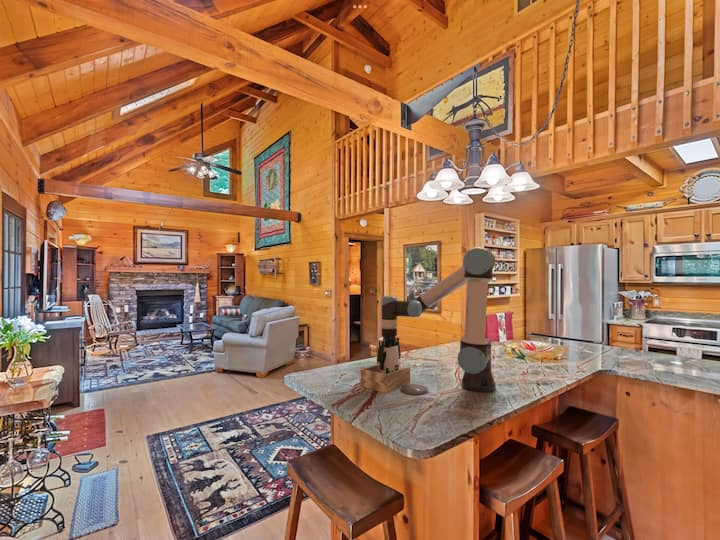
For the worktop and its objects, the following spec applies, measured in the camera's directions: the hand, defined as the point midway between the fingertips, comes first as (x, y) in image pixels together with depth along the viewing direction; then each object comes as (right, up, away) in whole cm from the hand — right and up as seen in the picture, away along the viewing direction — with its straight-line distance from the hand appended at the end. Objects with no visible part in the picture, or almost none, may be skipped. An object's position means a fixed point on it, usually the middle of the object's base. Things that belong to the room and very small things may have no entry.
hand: (389, 374), depth 170 cm
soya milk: (0, -5, 0) cm, 5 cm away
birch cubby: (-2, -4, -2) cm, 5 cm away
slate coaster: (+11, -4, -11) cm, 16 cm away
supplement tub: (+1, -5, +27) cm, 27 cm away
